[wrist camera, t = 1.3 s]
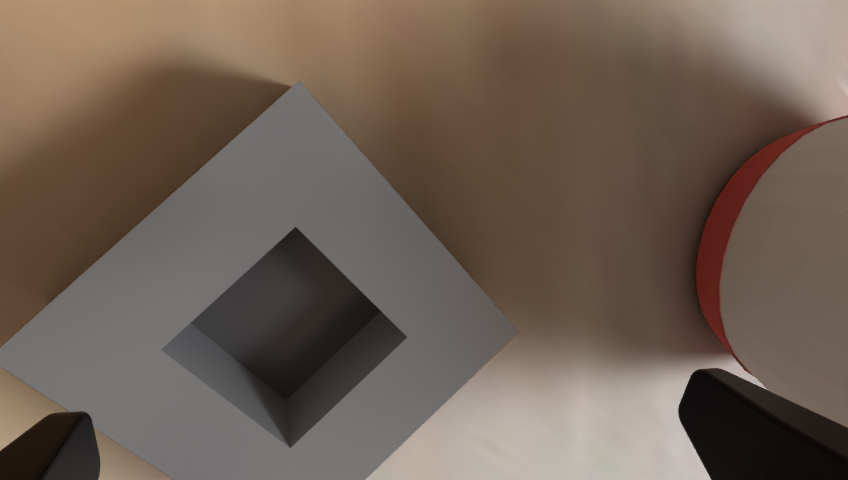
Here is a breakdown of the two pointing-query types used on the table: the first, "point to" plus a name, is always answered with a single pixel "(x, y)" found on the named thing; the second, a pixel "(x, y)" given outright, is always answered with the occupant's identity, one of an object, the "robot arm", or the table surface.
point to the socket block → (266, 316)
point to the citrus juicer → (784, 268)
